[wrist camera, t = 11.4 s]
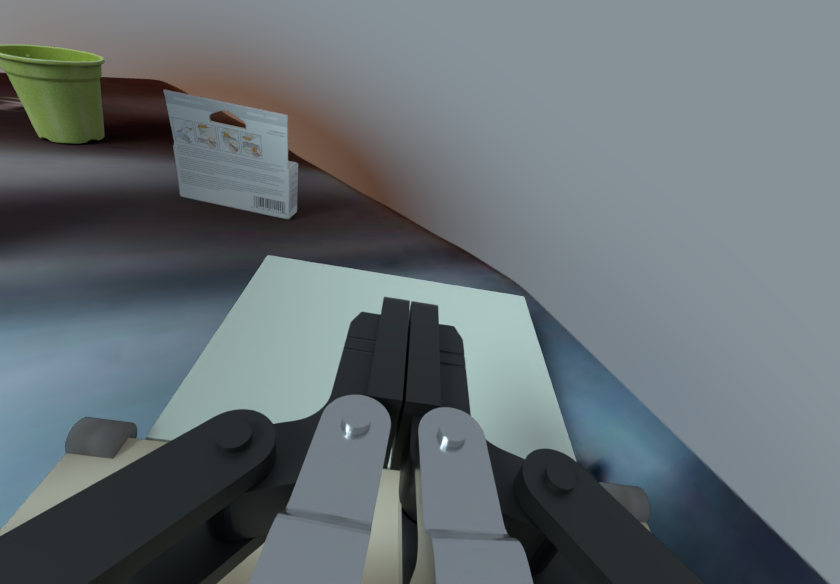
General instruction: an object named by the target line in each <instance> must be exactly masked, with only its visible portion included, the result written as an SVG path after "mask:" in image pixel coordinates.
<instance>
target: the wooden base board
mask: <svg viewBox="0 0 840 584" xmlns="http://www.w3.org/2000/svg"><path fill="white" fill-rule="evenodd" d="M136 436H137V427H136V425H135V424H134V423H131V422H123V421H115V420H107V419H99V418H91V417H85V418H82V419H80V420H79V421H78V422H77V423H76V424H75V425H74V426H73V427H72V429H71V431H70V432H69V434H68V437H67V439H66V443H65V451H66V454H65V455H64V456H63V457H62V459H61V460H60V461H59V462H58V463H57V464H56V466H55V467H54V468H53V469H52V470H51V471H50V473H49V474H48V475H47V476H46V477H45V478H44V480H43V481H42V482H41V483H40V484H39V485H38V487H37V488H36V489H35V490H34V491H33V492H32V494H31V495H30V496H29V497H28V498H27V500H26V501H25V502H24V503H23V504H22V505H21V507H20V508H19V509H18V510H17V511H16V512H15V514H14V515H13V516H12V517H11V518H10V519H9V521H8V522H7V523H6V524H5V525H4V526H3V528H2V529H1V530H0V536H1V535H3V534H5V533H7V532H8V531H10V530H12V529H14V528H16V527H17V526H19V525H21V524H23V523H25V522H26V521H28V520H30V519H32V518H34V517H35V516H37V515H39V514H41V513H43V512H44V511H46V510H48V509H50V508H51V507H53V506H55V505H57V504H59V503H60V502H62V501H64V500H66V499H68V498H69V497H71V496H73V495H75V494H77V493H78V492H80V491H82V490H84V489H86V488H87V487H89V486H91V485H93V484H94V483H96V482H98V481H100V480H102V479H103V478H105V477H107V476H109V475H111V474H112V473H114V472H116V471H118V470H120V469H121V468H123V467H125V466H127V465H129V464H130V463H132V462H134V461H136V460H138V459H139V458H141V457H143V456H145V455H146V454H148V453H150V452H152V451H154V450H155V449H157V448H159V447H161V446H163V445H164V444H166V443H168V442H160V441H152V440H144V439H136ZM399 479H400V471H393V470H385V469H383V470H382V475H381V480H380V485H379V491H378V496H377V501H376V506H375V512H374V517H373V522H372V529H371V535H370V540H369V546H368V551H367V556H366V561H365V567H364V572H363V577H362V582H361V584H398V501H399ZM599 484H600V485H601V486H603V487H604V488H605V489H606V490H607V491H608V492H609V493H610V494H611V495H612V496H613V497H614V498H615V499H616V500H617V501H618V502H619V503H620V504H622V505H623V506H624V507H625V508H626V509H627V510H628V511H629V512H630V513H631V514H632V515H633V516H634V517H635V518H636V519H637V520H638V521H639V522H640V523H642V524H643V525H644V526H645V527H646V528H647V529H648V530H649V531H650V529H649V527H648V525H647V521H648V520H649V516H650V504H649V500H648V497H647V495H646V493H645V492H644V490H643V489H641V488H640V487H635V486H627V485H619V484H611V483H604V482H599ZM264 543H265V542H264ZM264 543H263V544H262V545H261V546H260V547H259V548H258V549H256V550H255V551H254V552H253V553H252V554H251V555H249V556H248V557H247V558H246V559H245V560H244V561H242V562H241V563H240V564H239V565H238V566H237V567H235V568H234V569H233V570H232V571H231V572H230V573H228V574H227V575H226V576H225V577H224V578H223V579H221V580H220V581H219V582H218V583H217V584H248V583H249V581H250V578H251V576H252V573H253V571H254V568H255V566H256V563H257V561H258V558H259V556H260V553H261V551H262V548H263V546H264Z"/></svg>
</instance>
